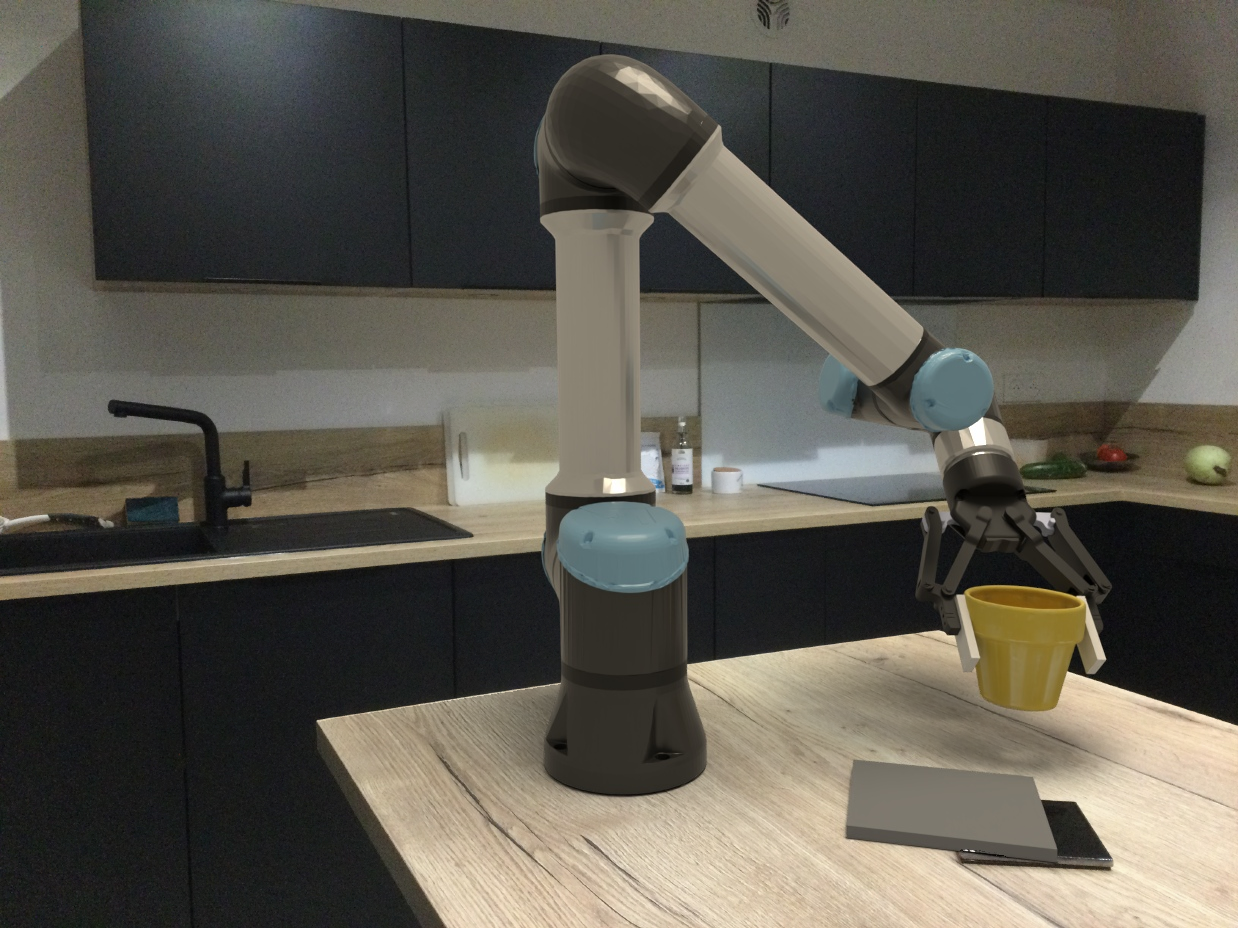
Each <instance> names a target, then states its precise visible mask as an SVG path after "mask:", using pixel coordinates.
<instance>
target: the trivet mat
mask: <svg viewBox="0 0 1238 928" xmlns="http://www.w3.org/2000/svg"><path fill="white" fill-rule="evenodd" d="M1034 779H1035V778H1034V776H1031V775H1030V776H1029V775H1019V774H1011V773H1010V774H1008V773H1000V772H998V773H997V772H990V771H989V772H988V771H979V770H978V771H976V770H970V769H969V770H967V769H958V768H957V769H955V768H947V767H946V768H945V767H938V766H937V767H936V766H927V765H926V766H925V765H916V764H908V763H907V764H905V763H903V764H902V763H895V762H884V761H876V760H875V761H874V760H873V761H872V760H866V759H865V760H863V759H855V758H854V759H852V769H851V779H850V786H849V796H848V797H849V799H848V807H847V814H846V815H847V816H846V817H847V818H846V825H845V826H846V827H845V828H846V829H845V835H846V836H845V837H846V839H853V840H863V841H871V842H881V843H887V844H888V843H889V844H894V845H895V844H897V845H905V846H914V847H923V848H929V849H930V848H931V849H936V850H937V849H940V850H947V851H957V852H961V851H960V850H961V849H969V850H977V851H979V850H981V851H985V852H990V853H994V852H997V853H998V854H999V855H1004V856H1003V857H1005V856H1006V858H1007V857H1008V858H1014V859H1016V858H1017V859H1023V860H1024V859H1025V860H1031V861H1032V860H1033V861H1041V862H1042V861H1043V862H1048V863H1058V848H1057V844H1056V842H1055V841H1056V840H1055V839H1054V835H1053V831H1052V829H1051V827H1050V824H1049V823H1050V822H1049V821H1048V817H1047V814H1046V811H1045V808H1044V806H1043V802H1042V800H1041V797H1040V794H1039V791H1038V788H1037V785H1036V782H1035V780H1034Z"/></svg>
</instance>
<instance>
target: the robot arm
mask: <svg viewBox="0 0 1238 928" xmlns="http://www.w3.org/2000/svg"><path fill="white" fill-rule="evenodd" d="M538 125H539V126H538V128H537V131H536V132H535V137H534V145H533V160H534V166H535V168H536V175H537V176H538V181H539V183H538V184H539V185H538V187H539V221H540V224H541V225H542V226H543V227H544V228H545V230H547V231H548V232H549V233H550V234H551V235H552V237H553V238H554V240H555V285H556V286H555V289H556V291H555V293H556V297H555V298H556V344H557V345H556V350H557V353H556V354H557V359H556V360H557V408H558V409H557V411H558V419H557V420H558V459H559V460H558V462H559V463H558V467H559V468H558V469H559V470H558V472H557V474H556V475H555V476H554V477H553V479H552V480H551V481H550V482H549V483H548V484H547V485H546V486H545V489H544V492H545V500H544V501H545V530H544V533H543V540H542V542H541V548H540V549H541V560H542V561H541V562H542V567H543V571H544V573H545V576H546V578H547V580H548V582H549V583H550V585H551V586H552V588H553V590H554V592H555V594H556V596H557V599H558V601H559V615H560V616H559V622H560V623H559V625H560V659H561V660H560V662H561V663H560V665H561V666H560V667H561V674H560V675H561V678H560V679H561V680H560V685H559V688H558V691H557V695H556V698H555V701H554V705H553V708H552V711H551V715H550V718H549V721H548V724H547V728H546V731H545V734H544V739H543V764H544V769H545V770H546V771H547V773H548V774H549V775H550V776H551V777H552V778H554V779H555V780H557V781H559V782H560V783H562V784H564V785H567V786H569V787H571V788H576V789H578V790H582V791H586V792H592V793H598V794H600V793H601V794H607V795H608V794H609V795H638V794H639V795H641V794H649V793H650V794H651V793H655V792H662V791H664V790H669V789H672V788H676V787H679V786H682V785H685V784H687V783H688V782H691V781H693V780H694V779H695V778H697V777H698V776H699V775H700V774H701V773H702V772H703V771H704V770H705V769H706V766H707V762H708V761H707V760H708V759H707V758H708V751H707V750H708V748H707V747H708V746H707V745H708V744H707V743H708V741H707V734H706V731H705V728H704V725H703V723H702V720H701V715H700V714H699V710H698V707H697V705H696V701H695V698H694V696H693V693H692V689H691V687H690V683H689V679H688V563H689V557H690V556H689V555H690V554H689V551H690V550H689V545H688V543H687V533H686V528H685V525H684V523H683V521H682V519H681V518H680V517H679V516H678V515H677V514H675V513H674V512H673V511H671V510H670V509H667V508H664V507H661V506H657V495H656V494H657V491H656V489H657V488H656V485H655V484H654V482H653V481H652V480H651V479H649V477H647V475H646V474H644V472H643V470H642V447H641V446H642V435H641V434H642V430H641V428H642V425H641V424H642V423H641V422H642V416H641V413H642V412H641V410H642V408H641V405H642V404H641V395H642V394H641V317H640V316H641V311H640V310H641V306H640V305H641V304H640V303H641V302H640V301H641V299H640V296H641V295H640V292H641V291H640V289H641V288H640V283H641V281H640V279H641V278H640V238H641V237H642V235H643V233H644V232H646V230H647V229H648V228H649V227H651V225H652V224H654V222H655V221H654V220H655V217H654V216H655V214H654V213H667V214H668V215H670V216H671V217H672V218H673V219H674V220H676V221H677V222H678V223H679V224H680V225H681V226H683V227H684V228H685V229H686V230H687V231H688V232H690V234H692V235H693V236H694V237H695V238H696V239H698V240H699V242H701V243H702V244H703V245H704V246H705V247H707V248H708V249H709V250H710V251H711V252H712V253H714V254H715V255H716V256H717V257H718V258H720V259H721V261H723V262H724V264H726V265H727V266H728V267H729V268H730V269H732V270H733V271H734V272H735V273H737V274H738V275H739V276H740V277H741V278H743V280H745V281H746V282H747V283H748V284H749V285H751V286H752V287H753V288H754V289H755V291H757V292H758V293H759V294H761V295H762V296H763V298H765V299H767V301H769V303H771V304H772V305H773V306H775V307H776V308H777V309H778V310H779V311H780V312H781V313H783V314H784V316H786V317H787V318H788V319H789V320H791V322H792V323H794V324H795V325H796V326H798V327H799V328H800V329H801V330H802V331H803V332H804V333H806V335H808V336H809V337H810V338H812V339H813V341H815V342H816V343H817V344H818V345H819V346H820V347H822V348H823V349H824V350H825V351H826V352H828V353H829V354H828V356H827V357H826V358H825V360H824V363H823V365H822V367H821V370H820V374H819V378H818V386H817V395H818V396H817V398H818V403H819V405H820V407H821V409H822V410H823V411H824V412H825V413H827V414H830V415H833V416H838V417H841V418H844V419H845V420H851V419H852V420H857V421H863V422H866V423H872V424H877V425H884V426H890V427H895V428H902V429H906V430H911V431H917V432H923V433H927V434H929V438H930V441H931V443H932V447H933V450H934V451H933V452H934V454H935V458H936V462H937V467H938V470H939V474H940V478H941V479H942V486H943V487H942V488H943V491H944V495H945V498H946V503H947V506H948V510H946V511H945V510H944V511H943V510H942V511H939V509H938V508H937V507H936V506H934V505H930V506H927V507H926V509H925V510H924V513H923V516H922V519H921V522H920V524H919V525H920V528H921V531H922V535H923V539H924V540H923V545H922V552H921V558H920V564H919V570H918V575H917V576H918V577H917V584H916V589H915V599H916V600H917V601H918V602H922V603H925V602H927V601H928V602H931V603H934V604H933V609H934V610H935V611H936V612H938V613H939V615H940V618H941V619H940V620H941V623H942V624H941V625H942V629H943V631H944V633H945V634H946V636H954V638H955V643H956V647H957V651H958V656H959V661H960V664H961V669H962V672H963V673H972V672H973V671H974V669H976V668H975V666H976V664H977V662H978V661H979V659H980V656H979V652H978V648H977V644H976V640H975V635H974V631H973V627H972V623H971V619H970V615H969V612H968V608H967V605H966V600H965V595H963V594H956V595H955V593H956V590H957V588H958V586H959V584H960V582H961V580H962V578H963V576H964V573H965V572H966V569H967V567H968V565H969V563H970V561H971V559H972V557H973V555H974V552H975V551H976V550H980V552H981V553H991V552H999V553H1007V554H1008V553H1010V554H1011V553H1014V554H1015V555H1016V556H1017V557H1018V558H1019V559H1020V560H1021V561H1026V562H1027V563H1028V564H1029V565H1031V566H1032V567H1033V568H1034V570H1036V571H1037V572H1038V574H1040V575H1041V576H1042V578H1044V579H1045V580H1046V581H1047V582H1048V583H1049V584H1050V585H1051V586H1052V587H1053V588H1054V589H1055V591H1057V592H1061V593H1066V594H1069V595H1072V596H1075V597H1077V598H1079V599H1081V600H1083V601H1084V602H1085V604H1086V621H1085V631H1084V637H1083V640H1082V641H1081V642H1079V643H1077V644H1076V646H1077V649H1078V652H1079V655H1080V658H1081V661H1082V664H1083V668H1084V672H1085V674H1086V675H1095V674H1096V673H1097V672H1098V671H1099V669H1100V668H1101V667H1102V666H1103V664H1104V663H1105V662H1106V660H1107V658H1106V655H1105V652H1104V649H1103V646H1102V643H1101V640H1100V637H1099V635H1100V634H1101V632H1102V631H1104V623H1103V620H1102V617H1101V615H1100V611H1099V608H1098V606H1097V605H1100V604H1102V602H1103V601H1104V600H1105V598H1106V597H1107V596H1108V594H1109V593H1110V592H1111V590H1112V588H1113V585H1112V583H1111V581H1110V580H1109V579H1108V578H1107V576H1106V574H1104V572H1103V571H1102V569H1101V568H1100V567H1099V565H1098V564H1097V562H1096V561H1095V560H1094V558H1093V556H1091V554H1090V553H1089V551H1088V550H1087V549H1086V547H1085V545H1083V544H1082V542H1081V541H1080V539H1079V538H1078V537H1077V535H1076V534H1075V532H1074V531H1073V530H1072V529H1071V528H1072V527H1070V526H1069V525H1070V524H1069V522H1068V518H1067V515H1066V512H1065V510H1064V509H1063V508H1061V507H1054V508H1053V509H1052V511H1051V512H1039V511H1038V512H1036V510H1035V509H1034V508H1033V507H1032V506H1031V505H1030V504H1029V502H1028V500H1027V499H1028V498H1027V494H1026V493H1027V492H1026V489H1025V484H1024V483H1023V479H1022V476H1021V475H1022V474H1021V473H1020V470H1019V466H1018V464H1017V463H1016V461H1017V459H1016V457H1015V454H1014V449H1013V447H1012V445H1011V442H1010V438H1009V436H1008V432H1007V429H1006V426H1005V423H1004V420H1003V416H1002V413H1001V410H1000V405H999V403H998V399H997V396H996V393H995V387H994V384H995V383H994V378H993V375H992V372H991V371H990V369H989V366H988V365H987V363H986V362H985V361H984V359H983V360H982V358H981V357H979V356H978V355H977V354H976V353H974V352H973V351H970V350H969V349H965V348H960V347H947V346H945V345H944V343H943V342H941V341H940V340H939V339H938V338H936V337H935V335H933V334H932V333H931V332H930V331H928V330H927V329H926V328H925V327H924V326H923V325H921V324H920V323H919V322H918V321H917V320H916V319H915V318H914V317H913V316H911V314H909V313H908V312H907V310H905V309H904V308H903V307H901V306H900V305H899V304H898V303H897V302H896V301H895V300H894V299H893V298H892V297H891V296H889V295H888V294H887V293H886V292H885V291H884V290H883V289H882V288H881V287H880V286H879V285H878V284H876V283H875V281H873V280H872V279H871V278H870V277H868V275H866V274H865V272H863V271H862V270H861V269H860V268H859V267H858V266H857V265H856V264H854V263H853V262H852V261H851V260H850V259H849V258H848V257H847V256H846V255H845V254H843V253H842V251H840V250H839V249H838V248H837V247H836V246H834V244H832V243H831V242H830V241H829V240H828V239H827V238H826V237H825V236H823V235H822V234H821V233H820V232H819V231H818V229H816V228H815V227H814V226H812V224H811V223H810V222H808V221H807V220H806V219H805V218H804V217H803V216H802V215H801V214H800V213H798V212H797V210H795V209H794V208H793V207H792V206H791V205H789V204H788V203H787V202H786V201H785V200H784V199H783V198H782V197H781V196H779V194H777V193H776V192H775V191H774V189H772V188H771V187H770V186H769V185H768V184H766V182H765V181H763V180H762V178H760V177H759V176H758V175H756V174H755V172H753V171H752V170H751V169H750V168H749V167H748V166H747V165H746V164H744V162H742V160H740V159H739V158H738V157H737V156H736V155H735V154H734V153H733V152H732V151H730V150H729V149H728V148H727V147H726V146H725V145H724V142H723V136H722V135H723V134H722V126H721V125H720V124H718V122H716V120H714V119H713V118H712V117H711V116H710V115H709V114H708V113H707V112H706V111H705V110H703V108H702V107H700V106H699V105H698V104H697V103H696V102H695V101H694V100H692V99H691V98H690V97H689V96H688V95H687V94H685V93H684V92H683V91H682V90H681V89H680V88H679V87H678V86H676V85H675V84H674V83H673V82H672V81H670V80H669V79H668V78H666V77H665V76H664V75H662V74H661V73H660V72H658V71H657V70H655V69H654V68H653V67H651V66H649V65H648V64H646V63H644V62H642V61H640V60H637V59H635V58H632V57H630V56H625V55H620V54H619V55H618V54H611V53H610V54H601V55H594V56H590V57H588V58H585V59H582V60H581V61H580V62H578V63H576V64H574V65H573V66H571V67H570V68H569V69H568V70H567V71H566V72H565V73H563V74H562V75H561V77H560V78H559V80H558V81H557V82H556V84H555V86H554V87H553V89H552V92H551V94H550V95H549V98H548V103H547V105H546V110H545V113H544V115H543V117H542V119H541V121H540V123H539V124H538ZM948 525H949V527H950V528H951V529H952V530H954V531H955V532H956V533H957V534H958V535H959V536H960V537H962V538H963V539H964V541H963V543H962V545H961V547H960V549H959V551H958V553H957V555H956V558H955V559H954V560H953V561H954V562H953V564H952V565H951V567H950V569H949V571H948V574H947V576H946V577H945V580H944V582H943V583H942V584H940V583H938V582H937V583H936V582H935V581H936V575H937V570H938V564H939V563H938V562H939V557H940V556H939V555H940V550H941V549H940V547H941V544H942V543H941V541H942V535H943V534H944V533H945V531H946V528H947V526H948ZM1035 527H1038V528H1039V529H1040V530H1041V533H1040V532H1039V531H1038V530H1037V529H1036V528H1035ZM1044 537H1047V539H1048V541H1049V543H1050V545H1051V547H1052V548H1053V549H1052V548H1051V547H1050V546H1049V545H1048V543H1046V542H1045V541H1044ZM1025 540H1026V543H1024V542H1025Z"/></svg>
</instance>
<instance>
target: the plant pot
mask: <svg viewBox="0 0 1238 928" xmlns="http://www.w3.org/2000/svg"><path fill="white" fill-rule="evenodd" d="M962 595H965V600H966V605H967V608H968V612H969V615H970V619H971V623H972V627H973V631H974V635H975V640H976V644H977V648H978V652H979V656H980V659H979V661H978V662H977V664H976V666H975V668H974V669H975V673H976V679H977V684H978V690H979V694H980V697H982V699H983V700H985V701H986V702H988V703H991V704H992V705H995V706H998V707H1001V708H1005V709H1008V710H1009V709H1010V710H1013V711H1021V712H1047V711H1050V710H1053V709H1055V708H1057V706H1058V703H1059V700H1060V697H1061V694H1062V690H1063V688H1064V687H1063V686H1064V685H1065V679H1066V676H1067V674H1068V670H1069V666H1070V663H1071V659H1072V657H1073V653H1074V650H1075V647H1076V645H1077V643H1079V642H1081V641H1082V640H1083V637H1084V631H1085V621H1086V604H1085V602H1084V601H1083V600H1081V599H1079V598H1077V597H1075V596H1072V595H1069V594H1066V593H1061V592H1058V591H1057V590H1051V589H1045V588H1041V587H1038V588H1037V587H1032V586H1031V587H1030V586H1019V585H1001V584H1000V585H999V584H997V585H995V584H994V585H981V586H980V585H979V586H973V587H970V588H968V589H965V590H964V591H963V594H962Z"/></svg>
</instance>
